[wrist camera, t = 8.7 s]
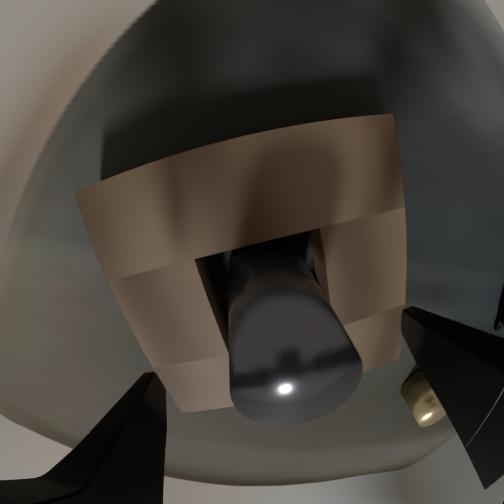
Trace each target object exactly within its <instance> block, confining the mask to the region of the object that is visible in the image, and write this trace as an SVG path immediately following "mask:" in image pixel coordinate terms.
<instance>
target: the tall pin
mask: <svg viewBox="0 0 504 504" xmlns="http://www.w3.org/2000/svg"><path fill="white" fill-rule="evenodd" d="M228 318H229V386H230V397H231V400H232V403H233V404H234V406H235V407H236V408H237V410H238V411H239V412H241V413H242V414H243V415H244V416H246V417H248V418H250V419H252V420H254V421H257V422H260V423H265V424H271V425H292V424H299V423H304V422H307V421H311V420H314V419H317V418H319V417H321V416H324V415H326V414H328V413H329V412H331V411H333V410H334V409H336V408H337V407H339V406H340V405H341V404H343V403H344V402H345V401H346V400H347V399H348V398H349V397H350V396H351V395H352V393H353V392H354V391H355V389H356V388H357V386H358V384H359V382H360V380H361V377H362V372H363V364H362V360H361V357H360V355H359V353H358V351H357V349H356V348H355V346H354V344H353V342H352V341H351V339H350V337H349V335H348V334H347V332H346V330H345V329H344V327H343V325H342V323H341V322H340V320H339V318H338V317H337V315H336V313H335V311H334V310H333V308H332V306H331V305H330V303H329V301H328V300H327V298H326V296H325V295H324V293H323V291H322V290H321V288H320V286H319V285H318V283H317V281H316V280H315V278H314V277H313V275H312V273H311V272H310V270H309V268H308V267H307V265H306V263H305V262H304V260H303V259H302V257H301V255H300V254H299V252H298V251H297V250H296V248H295V247H294V246H292V245H291V244H290V243H288V242H287V241H285V240H282V239H279V238H276V239H272V240H268V241H264V242H260V243H256V244H252V245H248V246H244V247H241V248H239V250H238V251H237V252H236V253H235V254H234V256H233V258H232V260H231V262H230V265H229V272H228Z"/></svg>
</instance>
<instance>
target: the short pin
mask: <svg viewBox="0 0 504 504" xmlns="http://www.w3.org/2000/svg"><path fill="white" fill-rule="evenodd" d="M401 395H402V397H403V398H404V400H405V402H406V403H407V405H408V407H409V408H410V410H411V412H412V414H413V415H414V417H415V419H416V421H417V422H418V424H419V426H420V427H426V426H429V425H431V424H433V423H435V422H437V421H438V420H440V419H441V418H442V417H444V416H445V415H446V412H445V410H444V408H443V407H442V405H441V403H440V402H439V400H438V398H437V396H436V395H435V393H434V391H433V390H432V388H431V386H430V385H429V383H428V381H427V380H426V378H425V376H424V375H423V373H422V372H421V370H419V371H417V372H416V373H415V374H413V375H412V376H411V377H410V378H409V379H408V380H407V381H406V382H405V384H404V385H403V387H402V389H401Z"/></svg>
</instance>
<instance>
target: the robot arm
mask: <svg viewBox="0 0 504 504" xmlns="http://www.w3.org/2000/svg"><path fill="white" fill-rule="evenodd" d="M502 328H504V293H503V297H502V301H501V305H500V309H499V313H498V317H497V320H496V323H495V327H494V330H495V331H497V332H498V331H499V330H501V329H502ZM401 332H402V335H403V337H404V339H405V341H406V343H407V345H408V347H409V349H410V351H411V353H412V355H413V357H414V359H415V361H416V363H417V365H418V367H419V368H420V370H421V372H422V373H423V375H424V376H425V378H426V380H427V381H428V383H429V385H430V386H431V388H432V390H433V391H434V393H435V395H436V396H437V398H438V400H439V402H440V403H441V405H442V407H443V408H444V410H445V412H446V414H447V416H448V417H449V419H450V421H451V423H452V425H453V426H454V428H455V430H456V432H457V434H458V435H459V438H460V440H461V441H462V443H463V445H464V447H465V449H466V451H467V454H468V456H469V458H470V459H471V461H472V463H473V466H474V468H475V470H476V472H477V474H478V476H479V479H480V481H481V483H482V485H483V487H484V489H487V488H488V487H489V486H491V485H492V484H493V483H495V482H496V481H497V480H498V479H499V478H501V477H502V476H503V475H504V338H501V337H498V336H495V335H493V334H488V333H487V332H484V331H481V330H479V329H476V328H473V327H470V326H467V325H464V324H462V323H459V322H456V321H453V320H450V319H448V318H445V317H442V316H439V315H436V314H434V313H431V312H428V311H425V310H422V309H420V308H417V307H414V306H410V307H408V308H405V309H403V310H402V314H401ZM166 433H167V413H166V389H165V387H164V385H163V383H162V382H161V380H160V378H159V377H158V375H157V374H156V373H155V372H147V373H144V374H143V375H142V376H141V377H140V378H139V379H138V380H137V381H136V382H135V383H134V384H133V386H132V387H131V388H130V389H129V390H128V391H127V392H126V393H125V394H124V395H123V396H122V398H121V399H120V400H119V401H118V402H117V403H116V404H115V405H114V406H113V407H112V408H111V410H110V411H109V412H108V413H107V414H106V415H105V416H104V417H103V418H102V419H101V420H100V421H99V423H98V424H97V425H96V426H95V427H94V428H93V429H92V430H91V431H90V432H89V434H87V435H86V437H85V438H84V439H83V440H82V441H81V442H80V443H79V444H78V445H77V446H76V447H75V448H74V449H73V450H72V451H71V452H70V453H69V454H68V455H67V456H65V457H64V458H63V459H62V460H61V461H60V462H59V463H58V464H56V465H55V466H54V467H53V468H52V469H51V470H50V471H48V472H47V473H46V474H44V475H42V476H40V477H37V478H30V479H18V480H0V504H163V484H164V463H165V447H166ZM503 504H504V502H503Z"/></svg>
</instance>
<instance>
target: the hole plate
mask: <svg viewBox="0 0 504 504" xmlns="http://www.w3.org/2000/svg"><path fill="white" fill-rule="evenodd" d="M75 196H76V199H77V202H78V205H79V208H80V211H81V214H82V217H83V220H84V223H85V226H86V228H87V231H88V234H89V236H90V239H91V242H92V244H93V247H94V249H95V252H96V254H97V257H98V259H99V262H100V264H101V267H102V269H103V271H104V274H105V276H106V278H107V280H108V283H109V285H110V287H111V289H112V291H113V293H114V296H115V298H116V300H117V302H118V304H119V306H120V308H121V310H122V312H123V314H124V316H125V318H126V320H127V322H128V324H129V326H130V328H131V330H132V331H133V333H134V335H135V337H136V339H137V341H138V342H139V344H140V346H141V348H142V350H143V351H144V353H145V355H146V357H147V358H148V360H149V362H150V363H151V365H152V367H153V368H154V370H155V372H156V373H157V375H158V376H159V378H160V380H161V381H162V383H163V384H164V386H165V388H166V389H167V391H168V392H169V394H170V395H171V397H172V398H173V400H174V401H175V403H176V404H177V406H178V407H179V408H180V410H181V411H182V413H186V412H195V411H204V410H211V409H218V408H225V407H231V406H234V404H233V403H232V400H231V397H230V386H229V326H228V323H227V321H226V318H225V315H224V312H223V309H222V306H221V303H220V300H219V298H218V295H217V292H216V289H215V286H214V283H213V280H212V277H211V274H210V271H209V268H208V264H207V261H206V258H205V256H208V255H212V254H216V253H220V252H224V251H228V250H232V249H236V248H240V247H244V246H248V245H252V244H256V243H260V242H264V241H268V240H272V239H276V238H280V237H284V236H289V235H293V234H297V233H301V232H305V231H309V237H310V243H311V249H312V255H313V262H314V268H315V275H316V281H317V283H318V285H319V286H320V288H321V290H322V291H323V293H324V295H325V296H326V298H327V300H328V301H329V303H330V305H331V306H332V308H333V310H334V311H335V313H336V315H337V317H338V318H339V320H340V322H341V323H342V325H343V327H344V329H345V330H346V332H347V334H348V335H349V337H350V339H351V341H352V342H353V344H354V346H355V348H356V349H357V351H358V353H359V355H360V357H361V360H362V364H363V372H366V371H369V370H371V369H374V368H377V367H380V366H382V365H385V364H387V363H390V362H392V361H395V360H397V359H399V357H400V350H401V342H402V332H401V314H402V310H403V309H405V295H406V262H407V249H406V217H405V201H404V189H403V178H402V170H401V161H400V154H399V147H398V141H397V135H396V129H395V123H394V118H393V114H381V115H369V116H359V117H350V118H342V119H334V120H327V121H320V122H313V123H307V124H301V125H295V126H290V127H284V128H279V129H274V130H269V131H264V132H259V133H255V134H250V135H246V136H242V137H237V138H233V139H229V140H225V141H221V142H218V143H214V144H210V145H206V146H203V147H199V148H196V149H192V150H189V151H185V152H182V153H179V154H176V155H172V156H169V157H166V158H163V159H160V160H157V161H154V162H151V163H148V164H145V165H142V166H140V167H137V168H134V169H131V170H128V171H126V172H123V173H120V174H118V175H115V176H113V177H110V178H108V179H105V180H103V181H100V182H98V183H95V184H93V185H91V186H88V187H86V188H84V189H81V190H79V191H77V192H75ZM363 372H362V373H363Z"/></svg>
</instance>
